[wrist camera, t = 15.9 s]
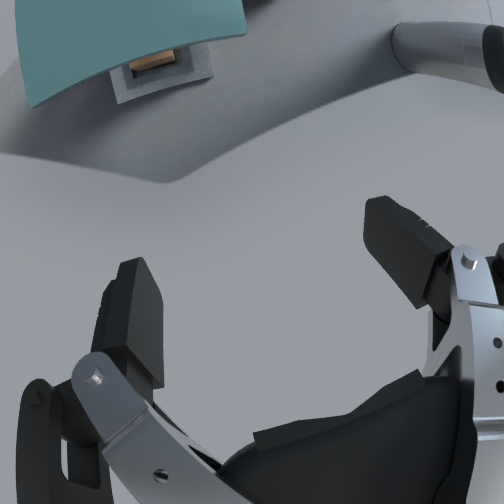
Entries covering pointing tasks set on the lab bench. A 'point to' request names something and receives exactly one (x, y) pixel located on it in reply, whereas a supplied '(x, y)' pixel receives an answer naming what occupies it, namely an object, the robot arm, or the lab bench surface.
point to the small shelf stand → (119, 42)
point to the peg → (154, 61)
